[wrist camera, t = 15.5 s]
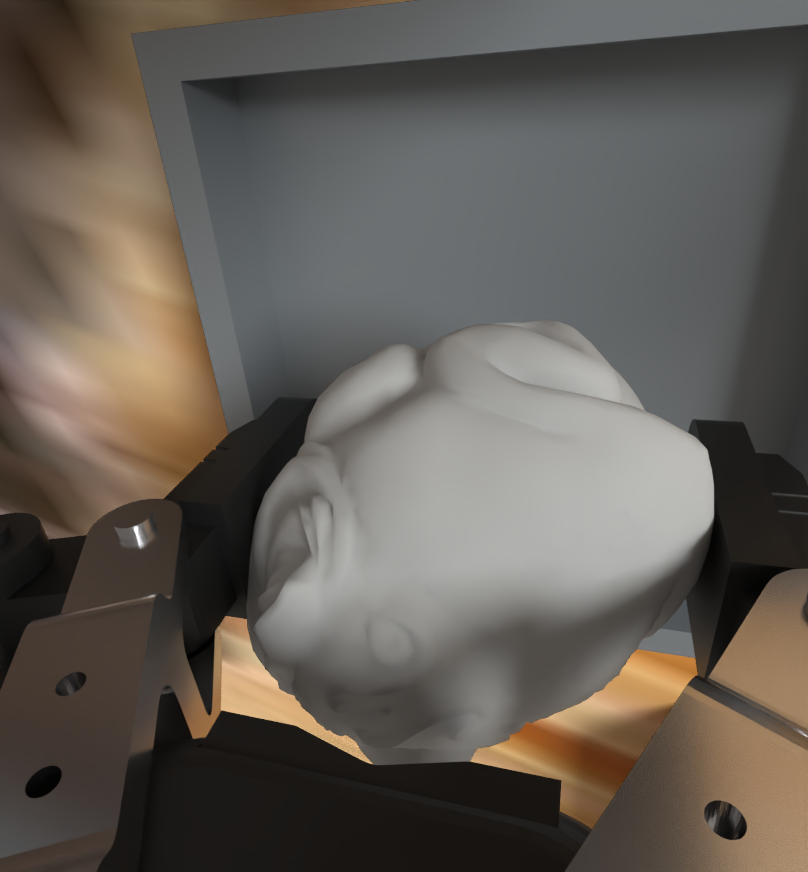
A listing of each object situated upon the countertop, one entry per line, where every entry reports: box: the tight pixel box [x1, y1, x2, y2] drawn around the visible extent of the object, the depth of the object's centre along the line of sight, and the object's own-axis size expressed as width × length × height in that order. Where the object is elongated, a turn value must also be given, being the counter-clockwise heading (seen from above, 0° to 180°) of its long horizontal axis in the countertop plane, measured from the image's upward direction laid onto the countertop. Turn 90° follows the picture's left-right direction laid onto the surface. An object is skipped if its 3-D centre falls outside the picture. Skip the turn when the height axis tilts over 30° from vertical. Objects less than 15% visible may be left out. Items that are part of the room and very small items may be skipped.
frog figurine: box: [246, 320, 714, 765], centre depth 10 cm, size 6×7×7 cm
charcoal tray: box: [131, 0, 808, 658], centre depth 14 cm, size 14×14×3 cm
